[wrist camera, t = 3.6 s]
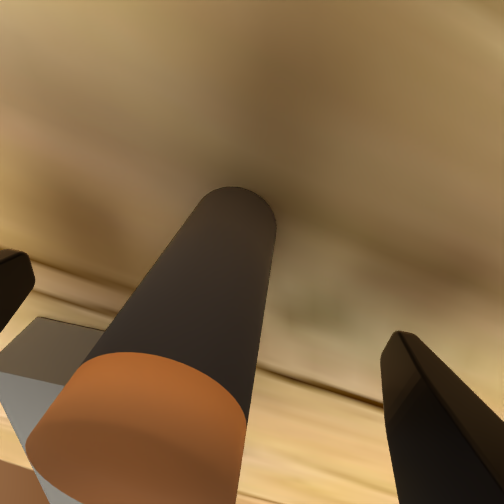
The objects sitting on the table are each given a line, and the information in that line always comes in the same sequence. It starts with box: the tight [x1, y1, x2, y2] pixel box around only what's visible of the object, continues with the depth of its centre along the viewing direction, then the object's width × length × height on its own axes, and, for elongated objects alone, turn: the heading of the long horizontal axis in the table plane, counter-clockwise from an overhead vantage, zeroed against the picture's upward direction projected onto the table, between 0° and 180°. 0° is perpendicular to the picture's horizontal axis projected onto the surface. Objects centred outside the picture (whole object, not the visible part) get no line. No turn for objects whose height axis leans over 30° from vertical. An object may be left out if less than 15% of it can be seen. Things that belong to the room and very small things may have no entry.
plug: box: [25, 187, 276, 504], centre depth 8 cm, size 3×3×8 cm
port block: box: [0, 317, 105, 504], centre depth 18 cm, size 10×16×4 cm, turn 171°
